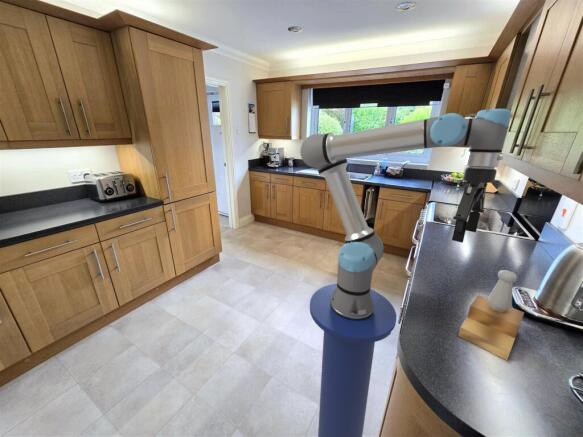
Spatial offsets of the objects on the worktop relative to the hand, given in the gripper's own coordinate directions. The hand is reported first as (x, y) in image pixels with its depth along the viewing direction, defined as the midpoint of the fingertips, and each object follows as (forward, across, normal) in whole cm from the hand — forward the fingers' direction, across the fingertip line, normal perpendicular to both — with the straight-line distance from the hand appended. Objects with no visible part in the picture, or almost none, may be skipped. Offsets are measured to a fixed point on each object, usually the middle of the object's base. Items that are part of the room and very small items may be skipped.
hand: (464, 236), depth 76 cm
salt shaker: (+23, +5, -12) cm, 26 cm away
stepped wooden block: (+30, +1, -12) cm, 33 cm away
